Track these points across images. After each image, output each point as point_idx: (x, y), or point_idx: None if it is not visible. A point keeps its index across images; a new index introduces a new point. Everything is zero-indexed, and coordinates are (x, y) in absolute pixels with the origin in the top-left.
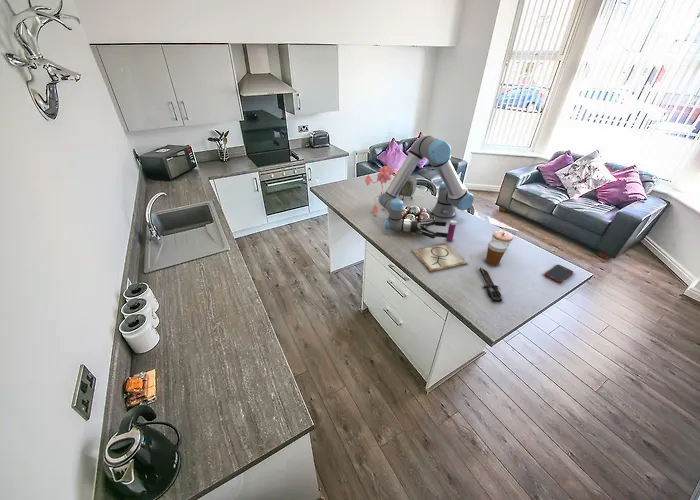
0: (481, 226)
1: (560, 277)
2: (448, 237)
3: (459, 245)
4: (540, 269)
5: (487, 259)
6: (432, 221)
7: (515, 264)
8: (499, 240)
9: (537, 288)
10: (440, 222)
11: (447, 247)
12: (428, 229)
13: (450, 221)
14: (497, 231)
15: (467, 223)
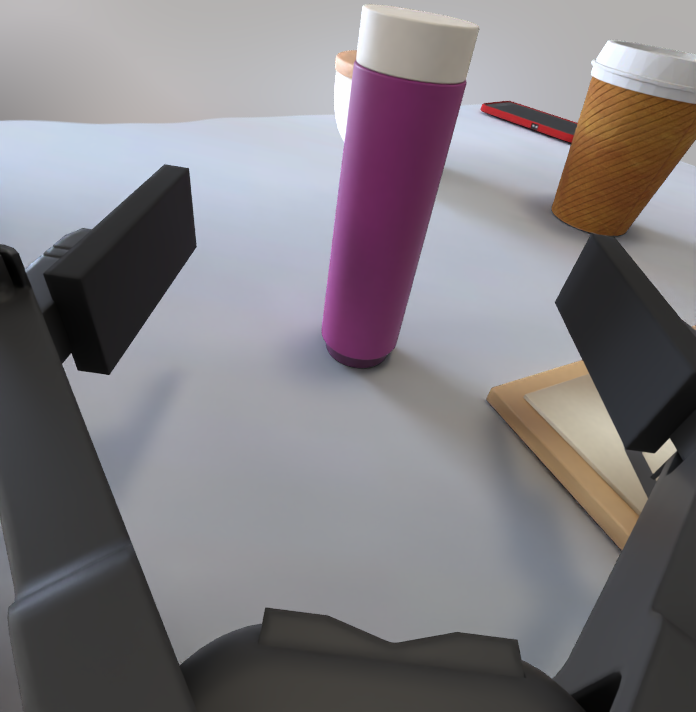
0: (104, 140)
1: (570, 123)
2: (399, 318)
3: (440, 297)
4: (531, 139)
5: (634, 207)
6: (23, 341)
7: (539, 169)
8: (609, 40)
9: (682, 177)
10: (143, 225)
11: (578, 386)
12: (687, 558)
13: (437, 22)
14: (353, 60)
15: (10, 171)
